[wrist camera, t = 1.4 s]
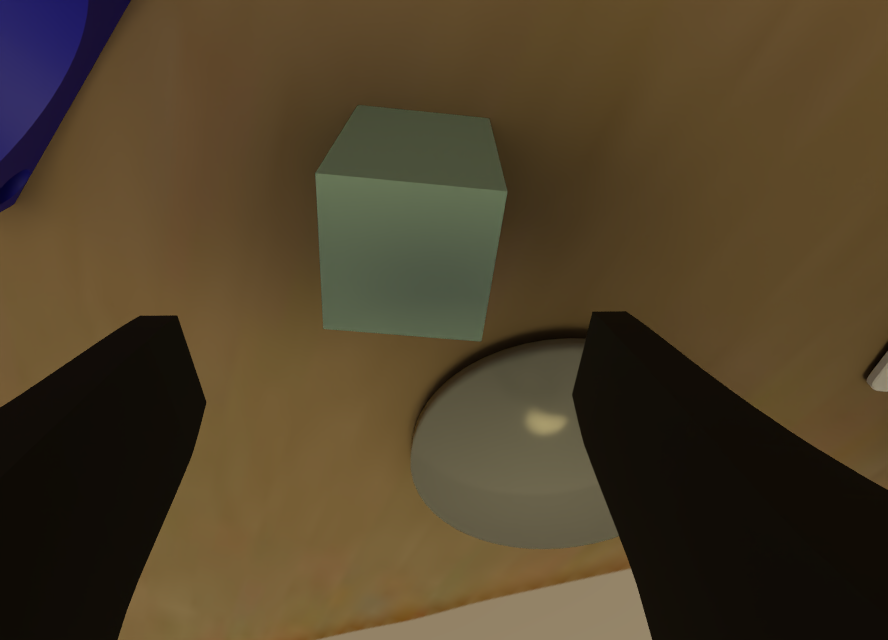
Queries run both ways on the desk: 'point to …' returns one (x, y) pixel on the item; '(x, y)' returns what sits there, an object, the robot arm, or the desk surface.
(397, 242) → the pale green block
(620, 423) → the robot arm
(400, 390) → the desk surface
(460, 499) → the slate plate
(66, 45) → the cable clip
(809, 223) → the desk surface
